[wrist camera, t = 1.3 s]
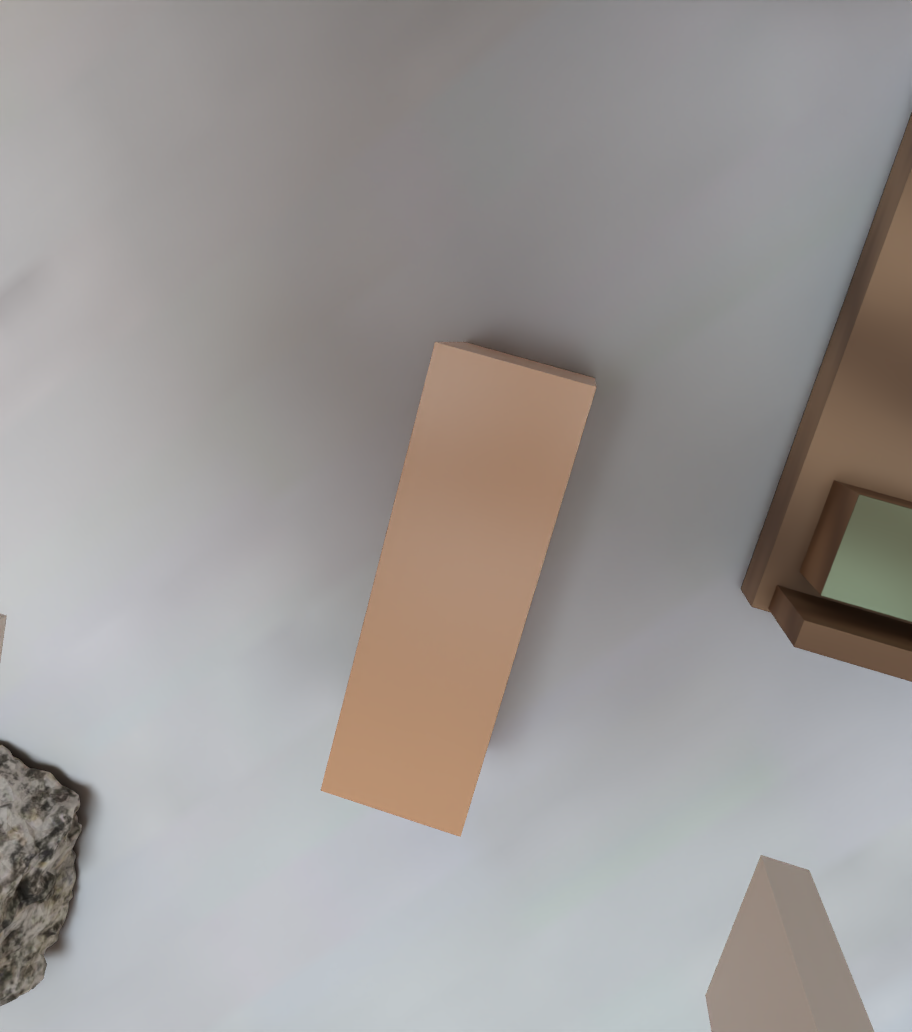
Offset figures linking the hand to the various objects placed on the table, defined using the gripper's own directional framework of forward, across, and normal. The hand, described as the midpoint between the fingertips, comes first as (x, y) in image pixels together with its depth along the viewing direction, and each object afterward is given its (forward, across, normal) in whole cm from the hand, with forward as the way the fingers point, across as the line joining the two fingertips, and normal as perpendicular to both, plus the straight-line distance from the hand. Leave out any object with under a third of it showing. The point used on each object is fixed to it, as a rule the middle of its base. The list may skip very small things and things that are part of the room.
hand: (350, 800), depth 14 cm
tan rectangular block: (+17, 0, 0) cm, 17 cm away
